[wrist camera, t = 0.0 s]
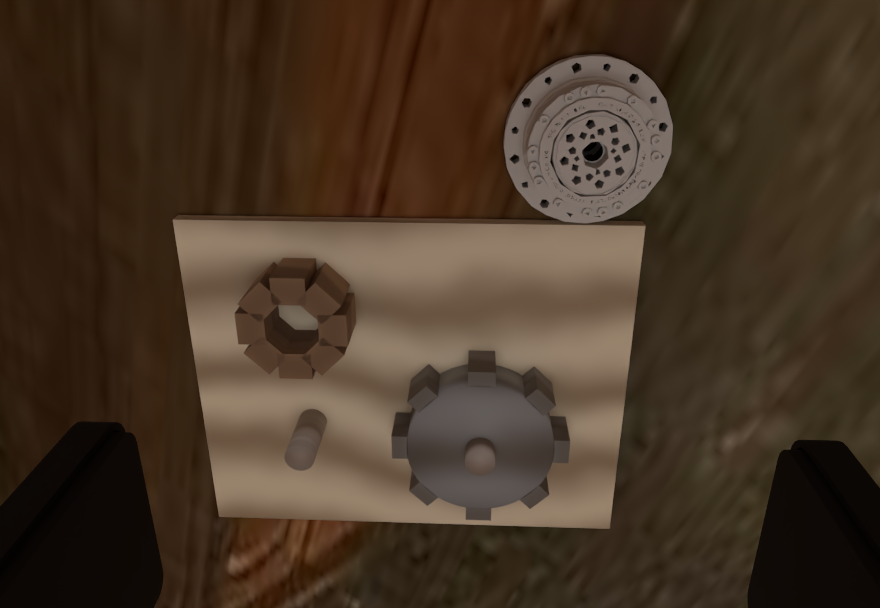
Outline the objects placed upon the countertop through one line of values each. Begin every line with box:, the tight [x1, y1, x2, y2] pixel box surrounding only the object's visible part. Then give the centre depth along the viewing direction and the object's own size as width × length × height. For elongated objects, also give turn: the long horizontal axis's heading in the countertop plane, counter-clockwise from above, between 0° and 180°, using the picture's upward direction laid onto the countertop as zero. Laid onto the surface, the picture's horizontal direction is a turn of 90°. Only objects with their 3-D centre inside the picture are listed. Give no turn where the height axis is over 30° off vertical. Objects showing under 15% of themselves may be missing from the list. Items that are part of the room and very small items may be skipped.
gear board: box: [173, 215, 645, 529], centre depth 50 cm, size 24×30×6 cm
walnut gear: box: [234, 258, 356, 379], centre depth 48 cm, size 7×7×4 cm
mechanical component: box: [503, 54, 673, 223], centre depth 43 cm, size 10×4×10 cm
